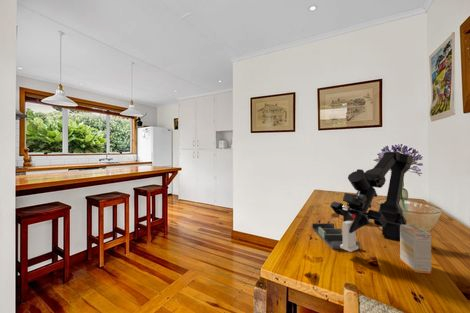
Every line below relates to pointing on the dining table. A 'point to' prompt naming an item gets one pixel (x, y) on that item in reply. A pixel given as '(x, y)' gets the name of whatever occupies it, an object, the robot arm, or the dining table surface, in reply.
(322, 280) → the dining table surface
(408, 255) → the supplement box
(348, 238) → the white pedestal column
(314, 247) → the dining table surface
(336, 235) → the rack
